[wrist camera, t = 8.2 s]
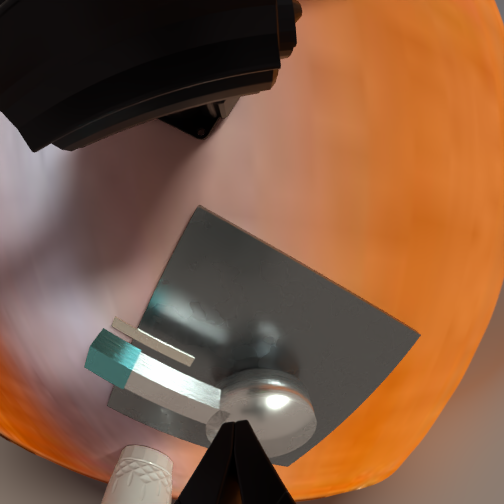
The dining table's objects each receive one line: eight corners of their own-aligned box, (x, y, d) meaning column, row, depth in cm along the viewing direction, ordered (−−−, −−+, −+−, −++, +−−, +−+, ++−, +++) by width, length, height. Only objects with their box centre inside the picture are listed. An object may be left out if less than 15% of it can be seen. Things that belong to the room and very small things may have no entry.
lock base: (92, 391, 22) (84, 407, 20) (173, 190, 18) (164, 193, 15) (286, 461, 27) (289, 477, 24) (416, 331, 22) (430, 344, 20)
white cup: (161, 476, 28) (152, 532, 18) (111, 453, 26) (93, 509, 16) (189, 460, 26) (182, 527, 16) (131, 434, 24) (110, 501, 15)
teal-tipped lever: (328, 387, 20) (339, 415, 17) (272, 440, 21) (276, 466, 18) (120, 289, 17) (101, 311, 14) (93, 365, 18) (78, 390, 15)
